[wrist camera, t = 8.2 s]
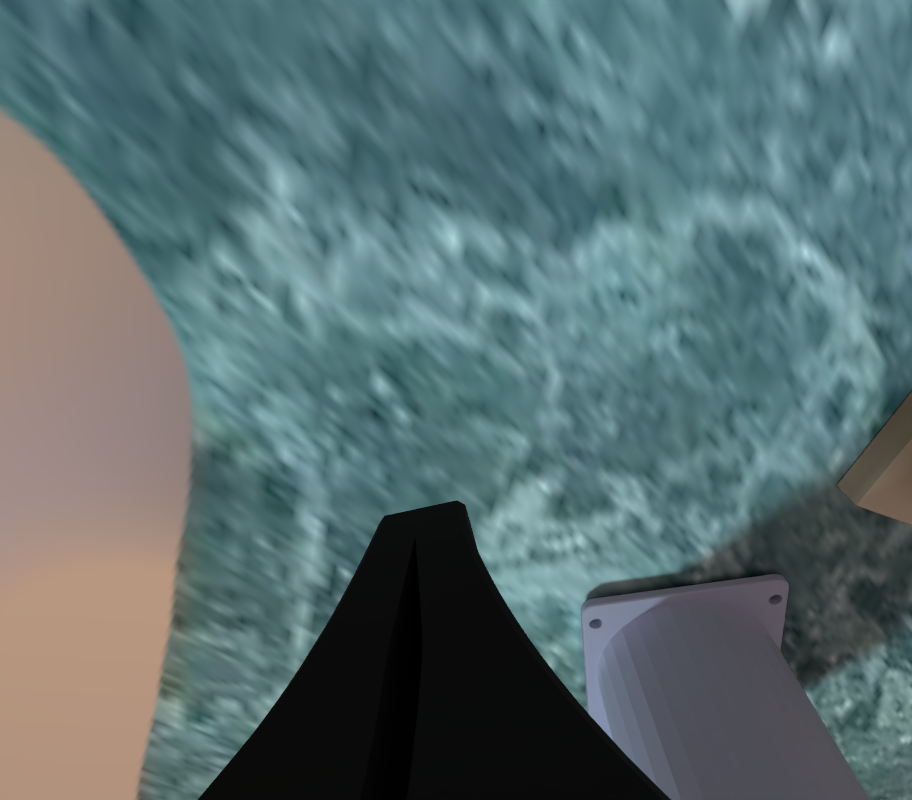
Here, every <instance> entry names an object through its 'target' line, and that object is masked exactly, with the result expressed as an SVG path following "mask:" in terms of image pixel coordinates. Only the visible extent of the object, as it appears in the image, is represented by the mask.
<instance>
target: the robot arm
mask: <svg viewBox="0 0 912 800" xmlns="http://www.w3.org/2000/svg"><path fill="white" fill-rule="evenodd" d="M788 592H789V584H788V582H787V581H786V580H785V578H784V577H783V576H782V575H779V574H771V575H763V576H756V577H749V578H741V579H734V580H726V581H719V582H712V583H704V584H697V585H690V586H682V587H675V588H668V589H660V590H653V591H645V592H638V593H631V594H623V595H616V596H609V597H601V598H594V599H590V600H587V601H586V602H584V603H583V605H582V606H581V622H582V637H583V652H584V667H585V682H586V697H587V711H586V710H585V709H584V708H583V707H582V706H581V705H580V704H579V703H578V701H577V700H576V699H575V698H574V697H573V695H572V694H571V693H570V692H569V690H568V689H567V688H566V687H565V685H564V684H563V683H562V682H561V681H560V679H559V678H558V677H557V676H556V674H555V673H554V672H553V670H552V669H551V668H550V667H549V665H548V664H547V663H546V661H545V660H544V659H543V657H542V656H541V655H540V653H539V652H538V651H537V649H536V648H535V646H534V645H533V644H532V642H531V641H530V639H529V638H528V637H527V635H526V634H525V632H524V631H523V629H522V628H521V626H520V625H519V623H518V622H517V620H516V618H515V617H514V615H513V614H512V612H511V611H510V609H509V608H508V606H507V604H506V603H505V601H504V599H503V598H502V596H501V594H500V593H499V591H498V589H497V587H496V585H495V584H494V582H493V580H492V578H491V576H490V574H489V572H488V571H487V569H486V567H485V565H484V563H483V561H482V559H481V557H480V555H479V552H478V549H477V546H476V542H475V539H474V535H473V531H472V528H471V524H470V520H469V517H468V513H467V510H466V506H465V505H464V504H463V503H461V502H459V501H452V502H447V503H443V504H438V505H433V506H429V507H424V508H419V509H415V510H410V511H405V512H401V513H396V514H391V515H387V516H384V517H383V519H382V520H381V522H380V523H379V525H378V527H377V530H376V532H375V534H374V536H373V538H372V540H371V542H370V544H369V546H368V548H367V550H366V552H365V554H364V556H363V558H362V560H361V562H360V564H359V566H358V568H357V570H356V572H355V574H354V576H353V578H352V580H351V582H350V584H349V585H348V587H347V589H346V591H345V593H344V595H343V596H342V598H341V600H340V602H339V604H338V605H337V607H336V609H335V611H334V613H333V615H332V616H331V618H330V620H329V622H328V623H327V625H326V627H325V628H324V630H323V631H322V633H321V635H320V636H319V638H318V639H317V641H316V643H315V644H314V646H313V648H312V649H311V651H310V652H309V654H308V656H307V657H306V659H305V660H304V662H303V664H302V665H301V667H300V668H299V670H298V671H297V673H296V674H295V676H294V677H293V679H292V680H291V682H290V683H289V685H288V686H287V688H286V689H285V691H284V692H283V693H282V695H281V696H280V698H279V699H278V701H277V702H276V703H275V705H274V706H273V707H272V709H271V710H270V711H269V713H268V714H267V715H266V717H265V718H264V720H263V721H262V722H261V724H260V725H259V726H258V728H257V729H256V730H255V732H254V733H253V734H252V735H251V737H250V738H249V739H248V740H247V741H246V743H245V744H244V745H243V746H242V748H241V749H240V750H239V751H238V753H237V754H236V755H235V756H234V757H233V758H232V760H231V761H230V762H229V763H228V764H227V766H226V767H225V768H224V769H223V770H222V772H221V773H220V774H219V775H218V776H217V778H216V779H215V780H214V781H213V782H212V783H211V785H210V786H209V787H208V788H207V789H206V791H205V792H204V793H203V794H202V795H201V796H200V798H199V799H198V800H870V799H869V797H868V796H867V794H866V792H865V791H864V789H863V787H862V786H861V784H860V782H859V781H858V779H857V777H856V776H855V774H854V772H853V771H852V769H851V768H850V766H849V764H848V763H847V761H846V759H845V758H844V756H843V754H842V753H841V751H840V749H839V748H838V746H837V744H836V743H835V741H834V739H833V738H832V736H831V734H830V733H829V731H828V729H827V728H826V726H825V724H824V723H823V721H822V720H821V718H820V716H819V715H818V713H817V711H816V710H815V708H814V706H813V705H812V703H811V701H810V700H809V698H808V696H807V695H806V693H805V691H804V690H803V688H802V686H801V685H800V683H799V681H798V680H797V678H796V676H795V675H794V673H793V671H792V670H791V668H790V667H789V665H788V663H787V662H786V660H785V658H784V657H783V655H782V653H781V652H780V650H781V643H782V636H783V628H784V621H785V614H786V606H787V599H788ZM772 596H773V597H772ZM594 619H598V620H596V621H592V620H594ZM587 712H588V713H587Z"/></svg>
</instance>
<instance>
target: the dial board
mask: <svg viewBox="0 0 912 800" xmlns="http://www.w3.org/2000/svg"><path fill="white" fill-rule="evenodd" d="M837 486H838V487H839V488H840V489H841V490H842V491H843V493H844V494H845V495H846V496H847V497H848V498H849V499H850V500H851V501H852V502H853V503H854V504H855V505H856V506H859V507H862V508H864V509H867V510H870V511H873V512H876V513H879V514H882V515H884V516H887V517H890V518H893V519H896V520H899V521H902V522H904V523H907V524H910V525H912V392H911V393H910V394H909V396H908V397H907V398H906V399H905V401H904V402H903V403H902V404H901V406H900V407H899V408H898V409H897V411H896V412H895V413H894V414H893V416H892V417H891V418H890V419H889V421H888V422H887V423H886V424H885V426H884V427H883V428H882V429H881V431H880V432H879V433H878V434H877V436H876V437H875V438H874V439H873V441H872V442H871V443H870V444H869V446H868V447H867V448H866V449H865V451H864V452H863V453H862V454H861V456H860V457H859V458H858V459H857V461H856V462H855V463H854V464H853V466H852V467H851V468H850V469H849V471H848V472H847V473H846V474H845V476H844V477H843V478H842V479H841V481H840V482H839V483H838V484H837Z"/></svg>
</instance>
